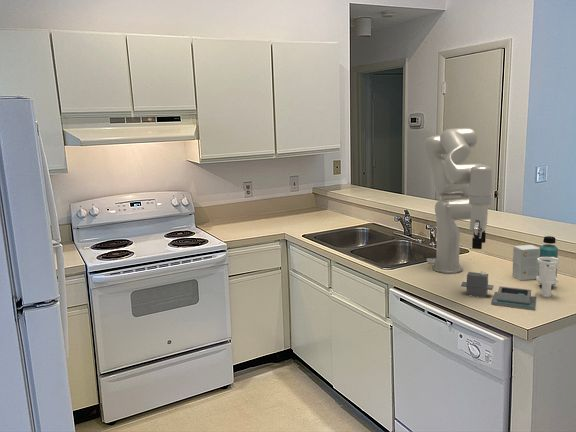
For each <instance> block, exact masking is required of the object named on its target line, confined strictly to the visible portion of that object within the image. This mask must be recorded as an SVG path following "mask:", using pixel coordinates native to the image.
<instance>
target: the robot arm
mask: <svg viewBox="0 0 576 432" xmlns="http://www.w3.org/2000/svg"><path fill="white" fill-rule="evenodd" d="M477 143H478V136H477V132H476V131H475V130H474V129H473V128H471V127H458V128H457V127H455V128H447V129H445V130H444V131H442V132H441V133H440V135H439V134H438V135H432V136H429V137H427V138H426V139H425V141H424V146H423V147H424V148H423V149H424V155H425V158H426V160H427V163H428V164H429V167H430V169H431V170H430V171H431V174H432V181H433V187H434V192H435V194H436V195H437V196H438V197H441V198H442V199H441V198H440V199H439V200H437V201H436V203H435V205H434V212H435V220H436V258H435V257H434V258H431V257H430V258H428V257H427V258H426V263H427V264H430V265H432V270H434V271H435V272H438V273H440V274H441V273H442V274H458V273H461V272H463V268H464V267H463V266H462V265H461V264H460V241H461V240H460V239H461V238H460V234H461V233H460V232H461V231H460V227H459V226H458V225H457V224H456V222H455V221H463V220H465V221H466V220H470V221H469V232H472V243H471V245H472V246H471V248H472V250H482V249H483V244H485V243H486V238H487V237H486V233H487V232H486V229H487V224H488V214H489V213H488V212H489V211H488V209H489V207H488V206H490V205H492V192H493V191H492V189H493V188H492V187H493V186H492V185H493V184H492V183H493V168H492V167H491V166H490V165H485V164H484V163H463V162H465V161H467V160H468V158H469V157H470V155H471V150H472V149H473V148H475V146H476V145H477ZM442 155H446V157H444V156H442Z"/></svg>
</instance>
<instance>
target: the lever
mask: <svg viewBox="0 0 576 432" xmlns="http://www.w3.org/2000/svg"><path fill="white" fill-rule="evenodd" d="M460 287H463V288H466V290H465V291H466V296H469V295H472V296H471V297H477V296H479V297H478V298H485V297H486V298H487V296H488V291H493V289H494V287H495V285H494V284H489V273H487V272H486V271H480V272H474V271H468V272H467V274H466V281H462V283H461V284H460Z"/></svg>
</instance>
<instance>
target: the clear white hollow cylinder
mask: <svg viewBox="0 0 576 432" xmlns="http://www.w3.org/2000/svg"><path fill="white" fill-rule="evenodd" d="M541 260H551V262H545V261H541ZM554 261H555V262H554ZM537 262H538V263H540V265H539V276H537V277H536V279H535V280H536V282H537V283H538V284H539V283H542V284H541V292H540V293H541V296H542V297H544V298H549V297H551V295H552V286H551V284H556V285H557V284H559V279H558V277H557V278H556V269H555V268H557V269H559V264H560V258H555V257H539V258H537ZM541 264H542V265H541ZM547 264H548V265H549V267H547Z"/></svg>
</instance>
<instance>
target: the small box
mask: <svg viewBox="0 0 576 432" xmlns="http://www.w3.org/2000/svg"><path fill="white" fill-rule="evenodd" d="M512 249H513V250H512V251H513V252H512V255H513V256H512V272H511V273H512V274H511V275H512V277H514V278H515V279H517V280H519V281H529V280H530V281H531V280H536V277H537V276H538V272H539V263H538V262H537V258H539V257H540V255H539V254H540V247H538V246H537V245H534V244H523V245H522V244H521V245H513V248H512Z"/></svg>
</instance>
